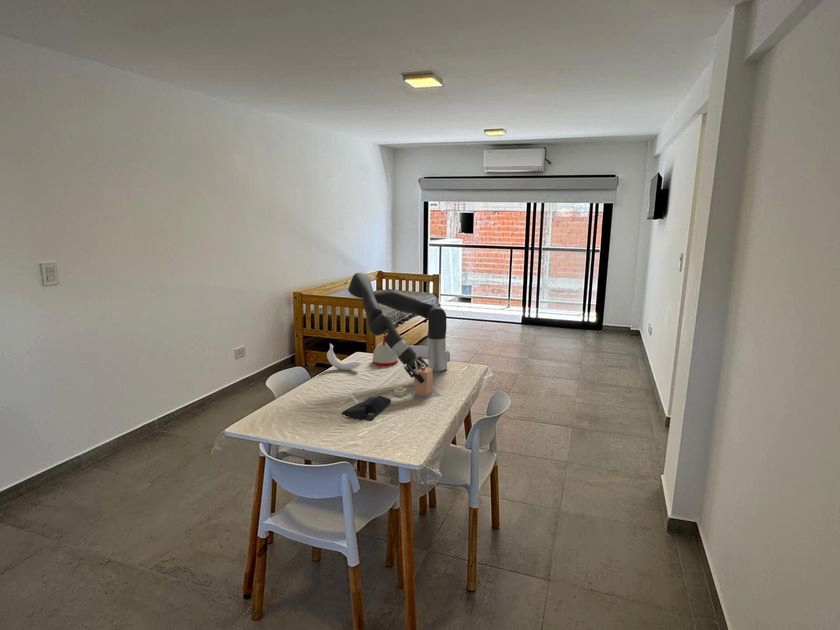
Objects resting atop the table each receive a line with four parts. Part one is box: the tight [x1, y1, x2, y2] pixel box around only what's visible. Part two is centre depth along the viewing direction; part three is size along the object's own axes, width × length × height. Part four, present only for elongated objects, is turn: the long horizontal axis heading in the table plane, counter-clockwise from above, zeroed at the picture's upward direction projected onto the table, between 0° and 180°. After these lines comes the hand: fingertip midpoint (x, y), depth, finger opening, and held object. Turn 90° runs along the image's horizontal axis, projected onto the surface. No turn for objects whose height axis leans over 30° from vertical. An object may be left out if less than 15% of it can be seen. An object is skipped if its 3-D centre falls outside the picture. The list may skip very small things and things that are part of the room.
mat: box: [407, 388, 443, 401], centre depth 224 cm, size 12×12×1 cm
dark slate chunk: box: [341, 395, 392, 422], centre depth 207 cm, size 15×22×5 cm
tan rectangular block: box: [413, 367, 434, 396], centre depth 222 cm, size 6×6×12 cm
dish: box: [393, 387, 408, 397], centre depth 223 cm, size 4×4×3 cm
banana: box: [326, 343, 362, 371], centre depth 259 cm, size 5×19×15 cm, turn 79°
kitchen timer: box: [372, 334, 399, 367], centre depth 272 cm, size 14×14×15 cm
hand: (426, 379), depth 222 cm, fingers open, 8 cm apart
